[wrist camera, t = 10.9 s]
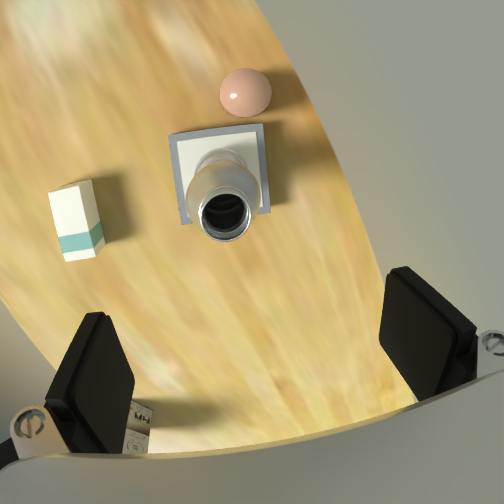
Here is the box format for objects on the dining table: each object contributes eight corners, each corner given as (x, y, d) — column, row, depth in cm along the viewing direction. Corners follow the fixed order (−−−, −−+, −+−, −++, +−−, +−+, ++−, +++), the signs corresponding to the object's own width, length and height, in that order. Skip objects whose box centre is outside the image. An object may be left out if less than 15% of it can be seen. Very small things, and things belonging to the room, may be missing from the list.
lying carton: (62, 185, 41) (47, 193, 36) (91, 178, 41) (78, 185, 37) (77, 248, 45) (65, 261, 40) (106, 243, 45) (95, 257, 41)
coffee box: (126, 397, 57) (114, 460, 43) (153, 410, 59) (147, 473, 45) (109, 416, 59) (97, 475, 45) (135, 428, 62) (127, 487, 47)
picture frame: (170, 134, 41) (167, 135, 38) (259, 123, 42) (262, 123, 39) (183, 218, 45) (181, 225, 43) (267, 207, 46) (271, 212, 43)
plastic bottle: (256, 162, 41) (291, 199, 22) (228, 206, 42) (240, 276, 24) (212, 136, 39) (210, 150, 20) (185, 182, 40) (161, 235, 22)
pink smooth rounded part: (217, 77, 39) (218, 70, 33) (261, 74, 39) (269, 66, 34) (221, 120, 41) (223, 119, 35) (265, 115, 41) (274, 114, 36)
